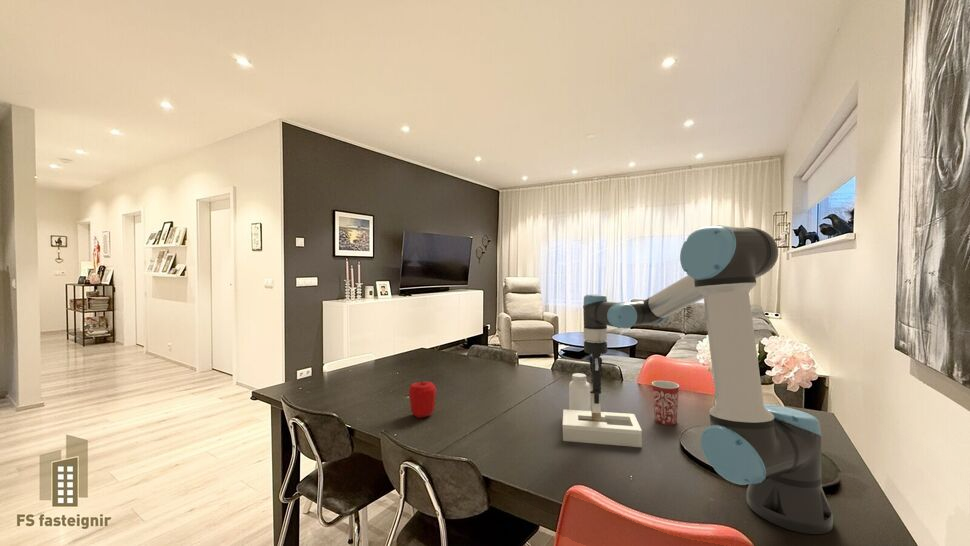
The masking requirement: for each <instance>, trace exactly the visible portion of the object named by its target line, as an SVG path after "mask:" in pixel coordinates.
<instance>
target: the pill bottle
mask: <svg viewBox="0 0 970 546" xmlns="http://www.w3.org/2000/svg"><path fill="white" fill-rule="evenodd" d="M590 391H591V383H590V382H588V381H587V375H586V374H585V373H579V372H576V373H573V374H572V375H571V381H570V382H569V384H568V393H569V394H568V404H569V405H568V406H569V409H568V410H580V411H592V408H591V393H590Z"/></svg>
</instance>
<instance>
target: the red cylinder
mask: <svg viewBox="0 0 970 546" xmlns="http://www.w3.org/2000/svg"><path fill="white" fill-rule="evenodd" d="M436 387H437V386H435V385H434V383H433V382H432V381H426V380H425V381H418V382H413V383H411V385H410V386H409V388H408V397H409V403H410V412H411V413H412V414H413V415H414V417H416V418H418V419H419V418H422V419H424V418H425V417H429V416H430V415H431V414H432V413H433V412H434V410H435V404H436V396H437V389H436Z"/></svg>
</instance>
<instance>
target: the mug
mask: <svg viewBox="0 0 970 546" xmlns="http://www.w3.org/2000/svg"><path fill="white" fill-rule="evenodd" d="M651 386H652V395H653V397H652V398H653V410H654V411H653V412H654V421H656V422H657V423H658V424H661V425H664V426H665V425H667V426H674V425H676V424H677V421H678V406H679V392H680V391H679V389H680V384H678V383H677V382H673V381H668V380H654V381H651Z"/></svg>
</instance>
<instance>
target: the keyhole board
mask: <svg viewBox="0 0 970 546" xmlns="http://www.w3.org/2000/svg"><path fill="white" fill-rule="evenodd" d="M562 415H563V416H562V441H563V442H572V443H573V442H574V443H583V444H584V443H586V444H595V445H596V444H597V445H609V446H610V445H611V446H619V447H620V446H623V447H633V448H643V435H642V433H643V430H642V428H641V426H640V424H639V421H638V419H637V417H636V415H635V413H624V412H623V413H622V412H612V411H611V412H608V411H601V422H596V421H592V410H591V411H580V410H569V409H565V408H564V409H563V412H562Z"/></svg>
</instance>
